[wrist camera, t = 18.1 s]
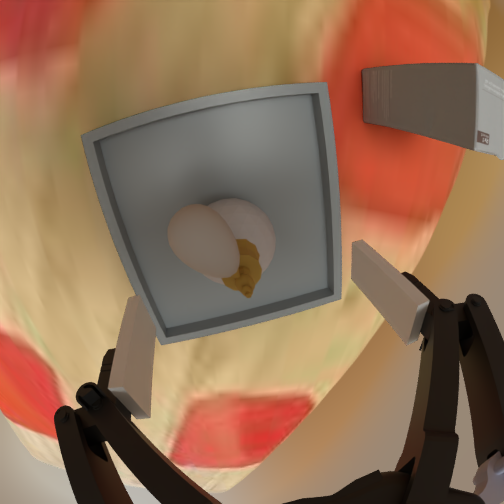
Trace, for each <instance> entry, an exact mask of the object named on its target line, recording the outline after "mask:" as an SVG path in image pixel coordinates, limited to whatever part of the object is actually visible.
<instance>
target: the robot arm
mask: <svg viewBox="0 0 504 504" xmlns="http://www.w3.org/2000/svg"><path fill="white" fill-rule="evenodd" d="M351 279H352V280H353V281H354V283H355V284H356V285H357V286H358V287H359V288H360V290H361V291H362V292H363V293H364V294H365V295H366V297H367V298H368V299H369V300H370V301H371V303H372V304H373V305H374V306H375V307H376V309H377V310H378V311H379V312H380V313H381V315H382V316H383V317H384V318H385V319H386V321H387V322H388V323H389V324H390V326H392V328H393V329H394V330H395V332H396V333H397V334H398V335H399V337H400V338H401V339H402V340H403V342H404V343H405V344H406V345H409V344H411V343H413V342H415V341H417V340H418V337H419V334H420V332H421V334H422V335H423V336H424V338H423V341H422V344H421V346H420V349H419V350H421V349H422V353H421V363H420V370H419V377H418V385H417V390H416V396H415V402H414V407H413V413H412V417H411V422H410V426H409V430H408V434H407V438H406V442H405V446H404V450H403V453H402V455H401V457H400V459H399V461H398V463H397V466H396V468H395V471H388V472H381V473H380V471H379V470H377V471H374V472H372V473H370V474H368V475H366V476H363V477H361V478H359V479H356V480H355V481H353V482H352V483H350V484H349V485H347V486H346V487H344V488H343V489H341V490H340V491H338V492H337V493H335V494H333V495H330V496H323V497H314V498H302V499H299V500H295V501H291V502H287V503H283V504H500V503H501V502H503V501H504V341H503V338H502V336H501V333H500V332H499V329H498V327H497V324H496V322H495V320H494V318H493V315H492V313H491V311H490V309H489V307H488V305H487V303H486V301H485V300H484V298H483V297H481V296H480V295H477V294H469V295H468V296H467V298H466V301H465V302H464V303H458V304H454V303H453V302H452V301H450V300H448V299H439V298H437V297H436V296H435V295H434V294H433V293H432V292H431V291H430V290H429V289H428V288H427V287H426V286H424V285H423V284H422V283H421V282H419V280H418V279H417V278H416V277H415V276H413V275H411V274H409V273H407V272H403V273H400V272H399V271H398V270H397V269H396V268H394V267H393V266H392V265H391V264H390V263H389V262H388V261H387V260H385V259H384V258H383V257H382V256H381V255H380V254H379V253H377V252H376V251H375V250H374V249H373V248H372V247H370V246H369V245H368V244H367V243H366V242H364V241H363V240H359V241H355V242H352V267H351ZM155 337H156V327H155V325H154V323H153V321H152V319H151V317H150V315H149V313H148V311H147V309H146V307H145V305H144V303H143V301H142V298H141V296H140V295H138V296H133V297H129V298H128V301H127V305H126V309H125V312H124V316H123V320H122V324H121V328H120V332H119V336H118V341H117V345H116V348H114V349H108V351H107V352H106V354H105V356H104V357H103V362H102V366H101V370H100V371H101V372H100V375H99V379H98V384H97V385H96V384H95V383H93V382H88V383H85V384H83V385H82V386H81V387H80V388H79V389H78V391H77V393H76V400H77V402H78V403H79V404H80V405H81V406H82V408H79V409H76V410H73V409H72V408H71V407H70V406H66V405H65V406H62V407H60V408H59V409H58V410H57V411H56V413H55V415H54V423H55V428H56V433H57V437H58V442H59V446H60V450H61V454H62V458H63V461H64V465H65V468H66V472H67V475H68V478H69V481H70V484H71V487H72V490H73V493H74V495H75V498H76V501H77V503H78V504H133V502H132V500H131V498H130V496H129V494H128V492H127V491H126V489H125V487H124V485H123V483H122V481H121V478H120V476H119V474H118V472H117V470H116V468H115V465H114V463H113V461H112V459H111V456H110V454H109V451H108V449H107V446H106V444H105V441H108V443H109V444H110V446H111V447H112V448H113V450H114V451H115V452H116V453H117V455H118V456H119V457H120V458H121V460H122V461H123V462H124V463H125V465H126V466H127V467H128V468H129V469H130V471H131V472H132V473H133V474H134V475H135V476H136V478H137V479H138V480H139V481H140V482H141V483H142V484H143V485H144V486H145V487H146V489H147V490H149V492H150V493H151V494H152V495H153V496H154V497H155V498H156V499H157V500H158V501H159V502H160V503H161V504H222V503H220V502H219V501H218V500H216V499H215V498H214V497H212V496H211V495H210V494H209V493H207V492H206V491H205V490H203V489H202V488H201V487H200V486H198V485H197V484H196V483H195V482H194V481H192V480H191V479H190V478H189V477H188V476H186V475H185V474H184V473H183V472H182V471H181V470H180V469H179V468H177V467H176V466H175V465H174V464H173V463H172V462H171V461H170V460H169V459H168V458H167V457H166V456H165V455H163V454H162V453H161V452H160V451H159V450H158V449H157V448H156V447H155V446H154V445H153V444H152V443H151V441H150V440H149V439H148V438H147V437H146V436H145V435H144V434H143V433H142V432H141V431H140V430H139V429H138V428H137V426H136V425H135V424H134V423H133V422H132V421H131V414H132V415H133V416H134V417H135V418H136V419H145V418H150V417H151V390H152V373H153V360H154V348H155ZM459 360H460V364H461V368H462V372H463V377H464V381H465V386H466V391H467V396H468V401H469V407H470V413H471V420H472V427H473V436H474V446H475V454H476V459H477V464H478V467H479V468H478V470H477V472H476V475H475V477H474V479H473V483H474V485H476V487H475V491H474V493H469V492H465V491H461V490H457V489H454V488H450V487H449V486H450V482H451V478H452V474H453V469H454V464H455V460H456V453H457V448H458V441H459V437H458V435H457V434H456V433H455V424H456V415H457V405H458V391H459Z"/></svg>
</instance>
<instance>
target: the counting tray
mask: <svg viewBox="0 0 504 504" xmlns="http://www.w3.org/2000/svg"><path fill="white" fill-rule="evenodd" d="M81 138H82V142H83V146H84V150H85V154H86V158H87V162H88V166H89V169H90V173H91V176H92V180H93V183H94V186H95V190H96V193H97V196H98V199H99V202H100V205H101V208H102V211H103V214H104V217H105V220H106V223H107V225H108V228H109V231H110V234H111V236H112V239H113V242H114V244H115V247H116V249H117V252H118V254H119V257H120V259H121V262H122V264H123V266H124V269H125V271H126V274H127V276H128V278H129V280H130V283H131V285H132V287H133V289H134V292H135V294H136V296H138V295H140V296H141V298H142V301H143V303H144V305H145V307H146V309H147V311H148V313H149V315H150V317H151V319H152V321H153V323H154V325H155V327H156V336H157V338H158V340H159V342H160V344H161V345H165V344H170V343H175V342H180V341H185V340H190V339H195V338H199V337H204V336H208V335H213V334H217V333H221V332H226V331H230V330H234V329H238V328H242V327H246V326H250V325H254V324H258V323H261V322H265V321H269V320H273V319H276V318H280V317H283V316H287V315H291V314H294V313H297V312H301V311H304V310H308V309H311V308H314V307H318V306H321V305H324V304H327V303H330V302H334V301H337V300H340V299H341V289H342V246H341V214H340V195H339V180H338V168H337V157H336V147H335V137H334V129H333V121H332V113H331V106H330V99H329V93H328V86H327V82H318V83H299V84H286V85H275V86H266V87H258V88H250V89H244V90H237V91H231V92H225V93H220V94H215V95H209V96H205V97H200V98H195V99H191V100H187V101H183V102H179V103H175V104H171V105H167V106H163V107H160V108H156V109H153V110H149V111H146V112H143V113H140V114H136V115H133V116H130V117H127V118H124V119H122V120H119V121H116V122H113V123H110V124H108V125H105V126H102V127H100V128H97V129H95V130H92V131H90V132H87V133H85V134H83V135H81ZM230 198H237V199H241V200H246V201H248V202H250V203H252V204H254V205H256V206H257V207H259V208H260V209H261V210H262V211H263V212H264V213H265V214H266V215H267V216H268V218H269V220H270V222H271V224H272V226H273V229H274V233H275V237H276V243H275V252H274V256H273V259H272V260H271V262H270V264H269V266H268V268H267V269H266V270H265V271H264V272H263V273H262V274H261V279H260V280H259V281H258V283H257V284H256V285H255V288H254V290H253V294H252V296H251V298H246V296H244V295H243V294H242V293H241V292H240V291H234V290H232V289H230V288H228V287H227V286H225V285H223V284H220V283H216V282H214V281H212V280H210V279H209V278H207V277H206V276H204V275H203V274H202V273H200V272H198V271H195V270H194V269H192V268H190V267H189V266H187V265H186V264H185V263H183V262H182V261H181V260H180V259H179V258H178V257H177V256H176V255H175V254H174V252H173V250H172V249H171V247H170V245H169V241H168V226H169V223H170V220H171V219H172V217H173V216H174V215H175V214H176V213H177V212H178V211H179V210H180V209H181V208H183V207H186V206H188V205H192V204H201V205H205V206H208V205H209V204H211V203H214V202H216V201H219V200H221V199H230Z"/></svg>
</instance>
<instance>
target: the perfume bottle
mask: <svg viewBox="0 0 504 504" xmlns="http://www.w3.org/2000/svg"><path fill="white" fill-rule="evenodd" d="M168 241H169V245H170V247H171V249H172V250H173V252H174V254H175V255H176V256H177V257H178V258H179V259H180V260H181V261H182V262H183V263H185V264H186V265H187V266H189V267H190V268H192V269H194V270H195V271H198V272H200V273H202V274H203V275H204V276H206V277H207V278H209V279H210V280H212V281H214V282H216V283H220V284H223V285H225V286H227V287H228V288H230V289H232V290H234V291H240V292H241V293H242V294H243V295H244V296H246V298H251V296H252V294H253V290H254V288H255V285H256V284H257V283H258V281H259V280H260V279H261V274H262V273H263V272H264V271H265V270H266V269H267V268H268V266H269V264H270V262H271V260H272V259H273V256H274V252H275V243H276V237H275V233H274V229H273V226H272V224H271V222H270V220H269V218H268V216H267V215H266V214H265V213H264V212H263V211H262V210H261V209H260V208H259V207H257V206H256V205H254V204H252V203H250V202H248V201H246V200H241V199H237V198H230V199H221V200H219V201H216V202H214V203H211V204H209V205H208V206H205V205H201V204H192V205H188V206H186V207H183V208H181V209H180V210H179V211H178V212H177V213H176V214H175V215H174V216H173V217H172V219H171V220H170V223H169V226H168Z"/></svg>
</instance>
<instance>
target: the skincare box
mask: <svg viewBox="0 0 504 504" xmlns="http://www.w3.org/2000/svg"><path fill="white" fill-rule="evenodd" d="M362 81H363V121H364V123H370V124H376V125H382V126H386V127H391V128H395V129H399V130H403V131H407V132H411V133H415V134H418V135H422V136H426V137H429V138H433V139H436V140H439V141H443V142H447V143H450V144H454V145H457V146H460V147H463V148H466V149H470V150H474V151H478V152H482V153H487V154H491V155H495V156H497V157H498V158H499V159H500V160H503V159H504V80H503V79H502V78H500V77H499V76H497V75H496V74H494V73H492V72H491V71H489V70H488V69H486V68H484V67H483V66H481V65H479V64H478V63H420V64H403V65H392V66H382V67H373V68H366V69H363V70H362Z"/></svg>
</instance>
